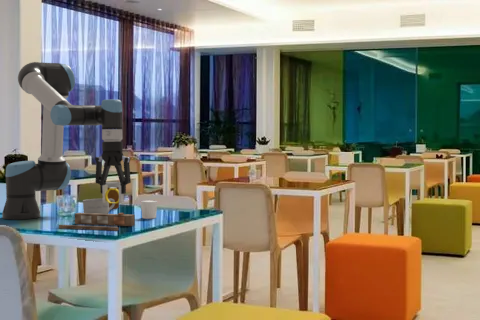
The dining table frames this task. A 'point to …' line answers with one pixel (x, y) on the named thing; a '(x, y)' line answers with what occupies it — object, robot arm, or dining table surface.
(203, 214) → the dining table surface
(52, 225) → the dining table surface
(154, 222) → the dining table surface
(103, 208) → the teacup
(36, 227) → the dining table surface
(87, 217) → the wooden tray
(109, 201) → the yellow ring
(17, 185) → the robot arm
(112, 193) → the disposable coffee cup
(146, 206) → the white tapered cup
